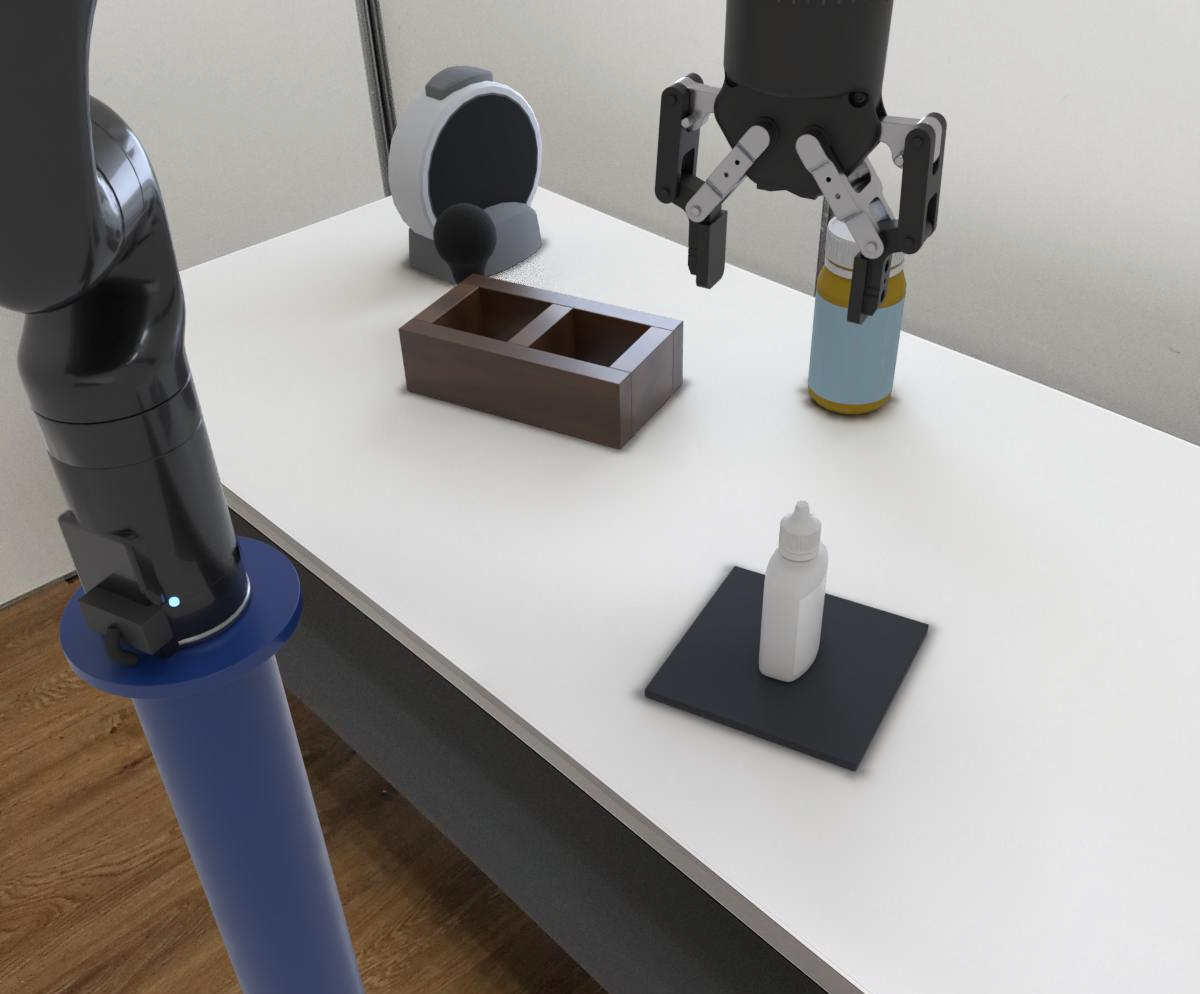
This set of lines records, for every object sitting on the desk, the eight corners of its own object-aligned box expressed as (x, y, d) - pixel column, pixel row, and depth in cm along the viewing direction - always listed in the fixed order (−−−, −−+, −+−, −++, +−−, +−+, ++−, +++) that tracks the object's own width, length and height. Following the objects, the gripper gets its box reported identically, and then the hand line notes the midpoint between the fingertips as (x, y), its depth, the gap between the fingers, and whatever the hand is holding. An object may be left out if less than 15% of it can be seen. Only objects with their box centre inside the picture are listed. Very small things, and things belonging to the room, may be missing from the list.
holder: (620, 449, 101) (619, 384, 97) (407, 390, 109) (397, 328, 106) (682, 383, 109) (683, 320, 105) (478, 333, 117) (472, 272, 113)
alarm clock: (449, 295, 123) (427, 105, 111) (383, 266, 128) (356, 81, 117) (566, 241, 132) (557, 59, 120) (500, 215, 137) (485, 39, 125)
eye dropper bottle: (844, 655, 81) (864, 504, 73) (778, 692, 79) (791, 539, 71) (799, 620, 84) (813, 470, 76) (733, 654, 82) (741, 503, 74)
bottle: (848, 366, 110) (867, 200, 101) (908, 398, 106) (933, 228, 96) (789, 392, 107) (803, 224, 98) (848, 427, 103) (868, 254, 93)
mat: (855, 771, 74) (856, 764, 74) (644, 696, 80) (644, 689, 79) (927, 630, 84) (929, 624, 83) (734, 571, 89) (734, 565, 89)
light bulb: (456, 289, 124) (445, 190, 118) (511, 296, 123) (503, 196, 116) (432, 316, 120) (419, 215, 113) (489, 324, 118) (479, 222, 112)
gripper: (631, -32, 56) (631, 300, 67) (942, 8, 51) (889, 362, 61) (703, -68, 61) (692, 246, 72) (993, -36, 56) (936, 299, 66)
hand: (783, 299), depth 67 cm, fingers open, 8 cm apart
